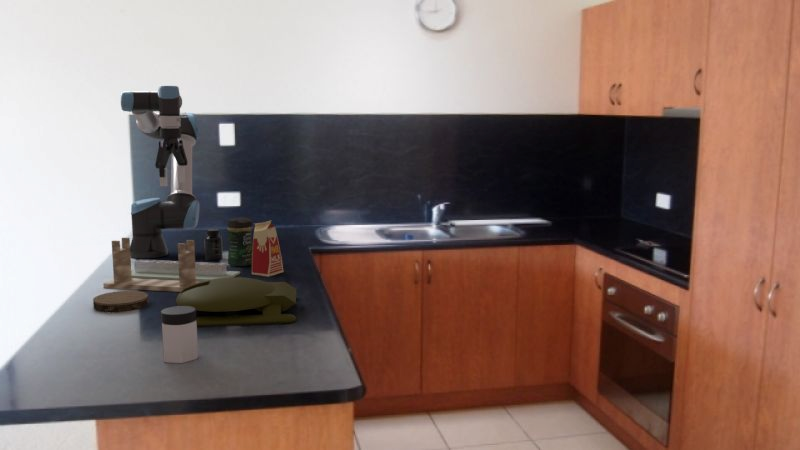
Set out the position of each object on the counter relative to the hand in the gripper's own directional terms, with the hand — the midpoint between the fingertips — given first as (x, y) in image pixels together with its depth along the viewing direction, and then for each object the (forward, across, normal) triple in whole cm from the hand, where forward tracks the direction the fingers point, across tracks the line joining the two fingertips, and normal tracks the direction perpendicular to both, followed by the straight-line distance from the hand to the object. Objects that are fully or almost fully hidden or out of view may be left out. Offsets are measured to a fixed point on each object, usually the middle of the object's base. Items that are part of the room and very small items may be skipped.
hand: (172, 184), depth 278 cm
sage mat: (+32, -14, -9) cm, 36 cm away
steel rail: (+31, -14, -9) cm, 35 cm away
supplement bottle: (+32, +16, -8) cm, 37 cm away
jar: (+32, -97, -52) cm, 115 cm away
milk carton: (+32, -4, -38) cm, 50 cm away
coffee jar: (+32, +8, -23) cm, 40 cm away
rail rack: (+32, -32, -9) cm, 46 cm away
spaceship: (+32, -55, -49) cm, 80 cm away
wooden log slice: (+32, -56, -11) cm, 66 cm away
